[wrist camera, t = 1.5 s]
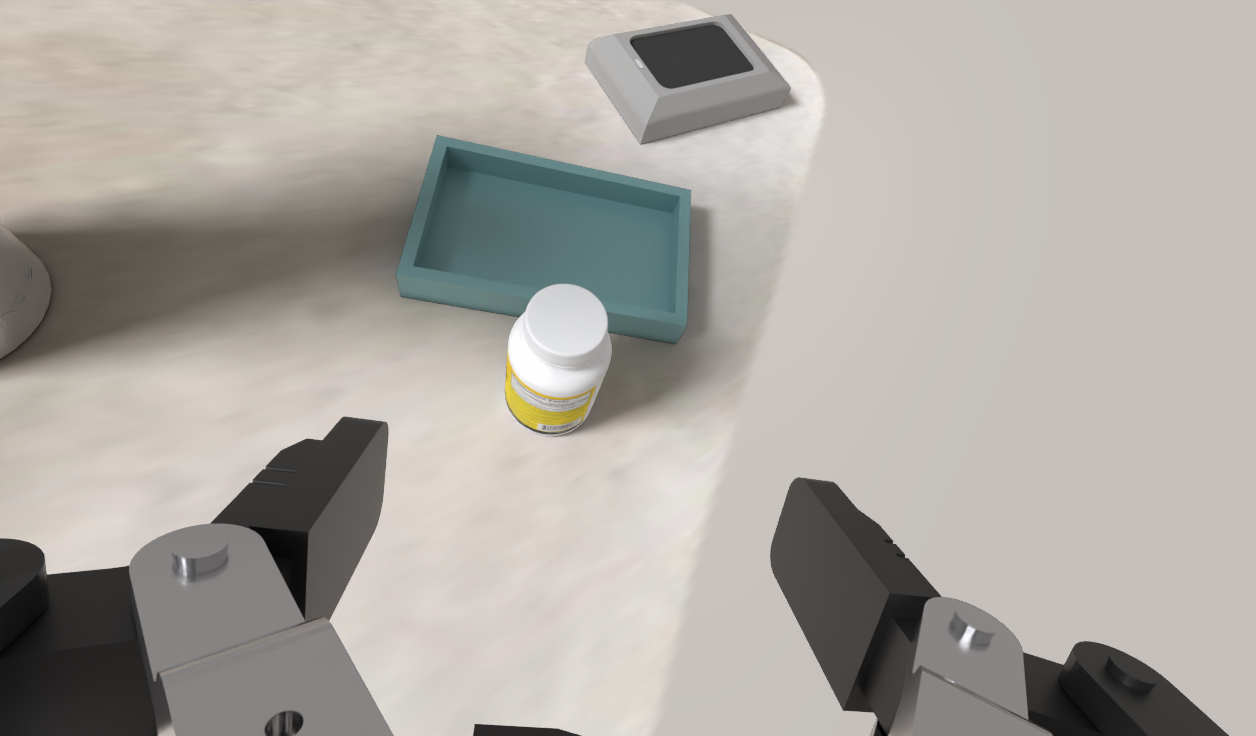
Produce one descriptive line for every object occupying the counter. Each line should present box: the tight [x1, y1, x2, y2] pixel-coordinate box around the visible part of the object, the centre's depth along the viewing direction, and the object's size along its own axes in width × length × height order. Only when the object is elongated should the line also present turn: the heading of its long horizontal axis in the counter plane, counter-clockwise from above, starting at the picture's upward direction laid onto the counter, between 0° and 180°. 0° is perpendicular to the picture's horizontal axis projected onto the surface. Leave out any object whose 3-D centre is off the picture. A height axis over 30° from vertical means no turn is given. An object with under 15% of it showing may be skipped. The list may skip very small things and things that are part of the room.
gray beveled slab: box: [585, 14, 791, 145], centre depth 51 cm, size 10×4×15 cm
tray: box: [396, 135, 691, 344], centre depth 41 cm, size 18×12×2 cm, turn 86°
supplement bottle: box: [505, 284, 612, 436], centre depth 33 cm, size 5×5×10 cm
